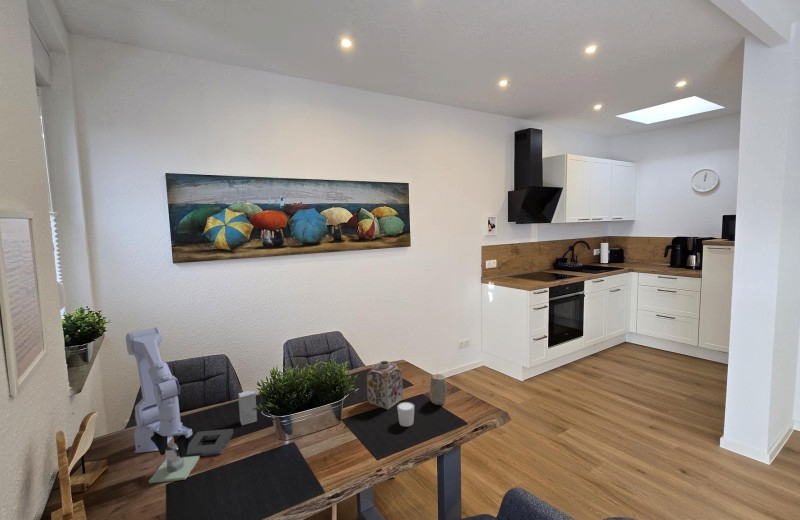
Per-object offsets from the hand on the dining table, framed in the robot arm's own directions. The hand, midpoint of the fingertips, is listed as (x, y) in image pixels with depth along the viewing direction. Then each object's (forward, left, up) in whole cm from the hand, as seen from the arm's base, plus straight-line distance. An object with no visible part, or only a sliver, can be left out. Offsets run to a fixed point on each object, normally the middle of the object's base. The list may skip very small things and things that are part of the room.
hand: (173, 454), depth 126 cm
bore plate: (+6, +13, -6) cm, 15 cm away
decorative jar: (+73, +35, -6) cm, 81 cm away
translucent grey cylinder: (0, 0, -5) cm, 5 cm away
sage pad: (0, 0, -6) cm, 6 cm away
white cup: (+80, +16, -6) cm, 82 cm away
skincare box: (+16, +28, -6) cm, 33 cm away
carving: (+96, +30, -6) cm, 101 cm away
